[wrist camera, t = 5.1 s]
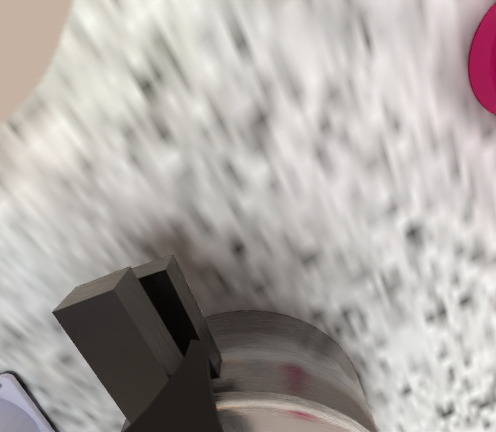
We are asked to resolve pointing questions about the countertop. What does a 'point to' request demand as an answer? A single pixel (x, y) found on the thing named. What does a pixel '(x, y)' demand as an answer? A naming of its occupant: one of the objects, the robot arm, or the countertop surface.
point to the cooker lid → (168, 361)
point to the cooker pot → (256, 347)
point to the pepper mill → (485, 62)
